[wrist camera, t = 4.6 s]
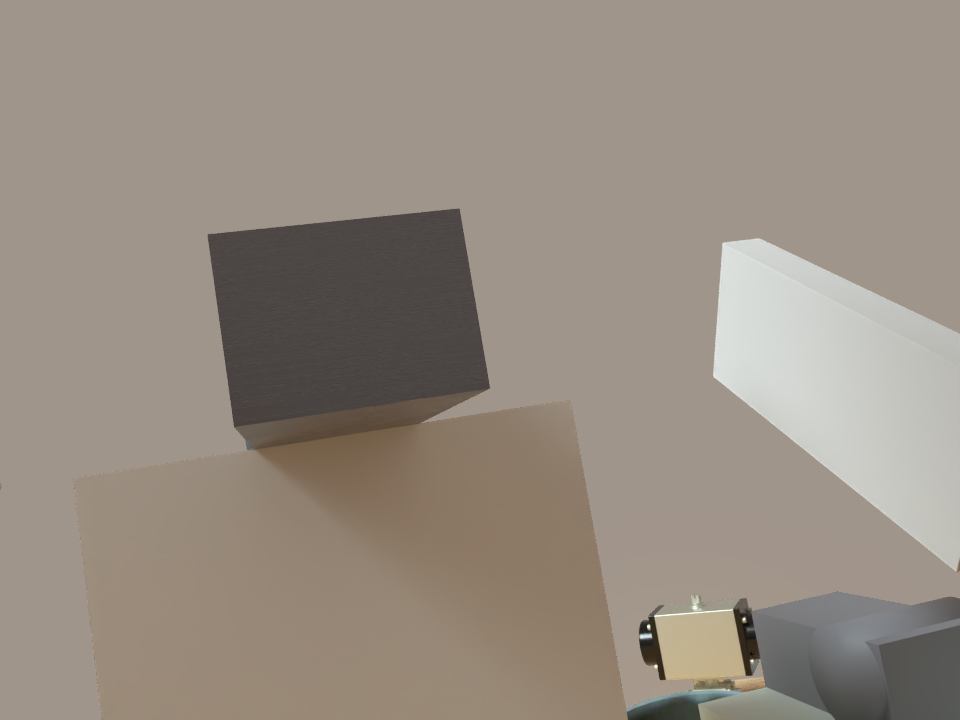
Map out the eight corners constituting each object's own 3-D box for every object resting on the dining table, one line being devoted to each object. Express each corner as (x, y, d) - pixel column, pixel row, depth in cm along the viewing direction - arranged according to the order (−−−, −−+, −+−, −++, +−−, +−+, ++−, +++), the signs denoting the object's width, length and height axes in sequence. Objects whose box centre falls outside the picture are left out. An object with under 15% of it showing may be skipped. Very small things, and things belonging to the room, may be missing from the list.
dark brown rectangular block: (519, 383, 14) (484, 182, 15) (199, 432, 13) (170, 212, 14) (386, 443, 34) (373, 356, 34) (252, 465, 33) (239, 374, 33)
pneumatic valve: (778, 727, 82) (752, 595, 83) (654, 730, 86) (631, 605, 88) (784, 707, 87) (760, 583, 88) (667, 711, 91) (645, 594, 93)
